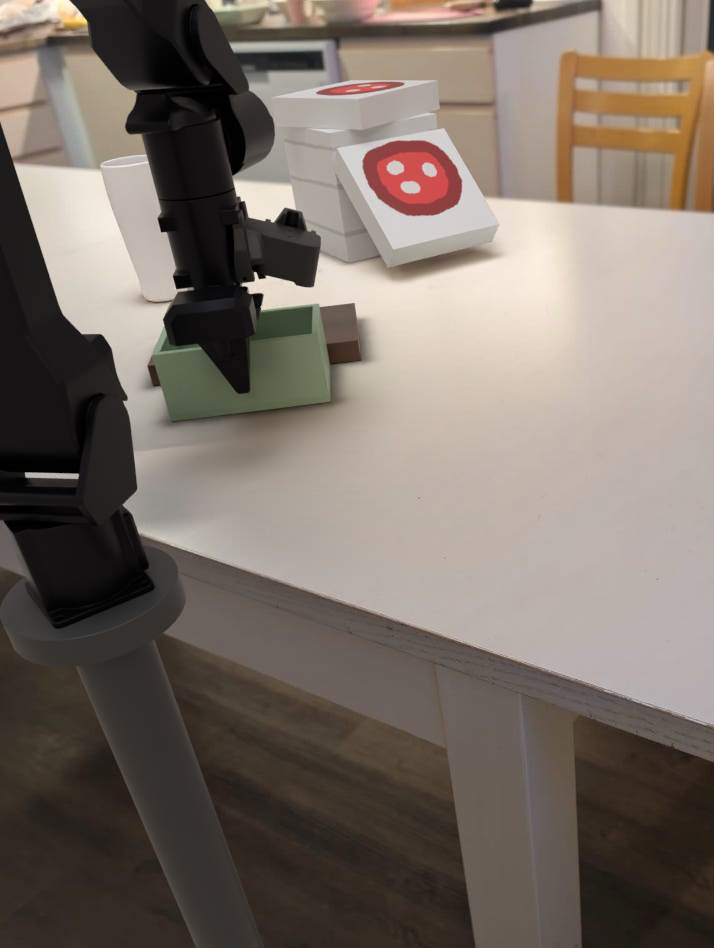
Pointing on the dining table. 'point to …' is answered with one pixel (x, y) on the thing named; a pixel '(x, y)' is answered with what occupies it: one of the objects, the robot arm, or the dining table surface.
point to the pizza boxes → (380, 172)
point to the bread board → (337, 335)
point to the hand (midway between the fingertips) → (244, 392)
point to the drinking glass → (141, 224)
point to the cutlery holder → (251, 368)
